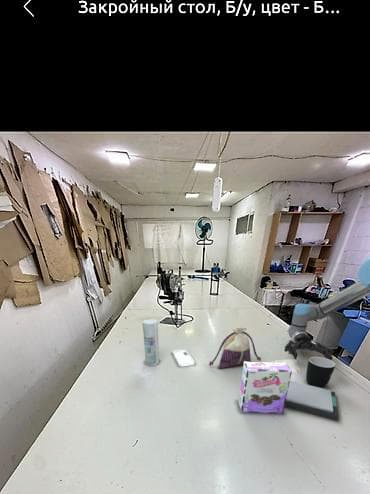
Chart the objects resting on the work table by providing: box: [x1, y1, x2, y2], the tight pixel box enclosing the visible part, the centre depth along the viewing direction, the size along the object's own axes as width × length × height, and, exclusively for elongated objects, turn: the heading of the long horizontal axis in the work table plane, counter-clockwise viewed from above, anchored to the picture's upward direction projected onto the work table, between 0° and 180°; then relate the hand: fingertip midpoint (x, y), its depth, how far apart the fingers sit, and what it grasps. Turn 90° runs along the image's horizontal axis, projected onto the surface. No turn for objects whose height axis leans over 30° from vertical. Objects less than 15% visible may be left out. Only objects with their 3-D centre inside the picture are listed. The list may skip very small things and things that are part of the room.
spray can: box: [142, 318, 160, 366], centre depth 106 cm, size 6×6×20 cm
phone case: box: [172, 349, 196, 368], centre depth 113 cm, size 7×1×15 cm
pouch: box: [208, 327, 262, 369], centre depth 104 cm, size 25×8×19 cm, turn 110°
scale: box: [284, 380, 339, 422], centre depth 83 cm, size 16×15×3 cm
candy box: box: [237, 361, 293, 414], centre depth 77 cm, size 14×6×16 cm, turn 88°
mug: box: [305, 356, 336, 389], centre depth 93 cm, size 12×9×10 cm
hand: (313, 358), depth 100 cm, fingers open, 13 cm apart
